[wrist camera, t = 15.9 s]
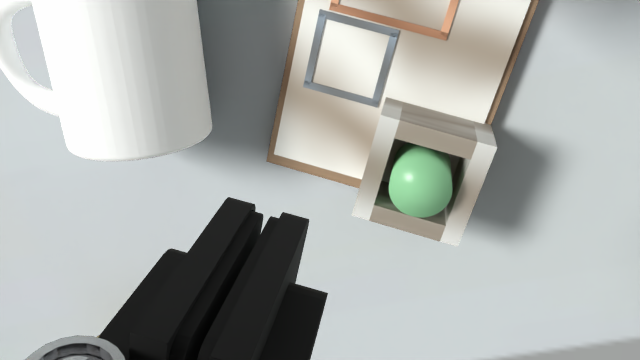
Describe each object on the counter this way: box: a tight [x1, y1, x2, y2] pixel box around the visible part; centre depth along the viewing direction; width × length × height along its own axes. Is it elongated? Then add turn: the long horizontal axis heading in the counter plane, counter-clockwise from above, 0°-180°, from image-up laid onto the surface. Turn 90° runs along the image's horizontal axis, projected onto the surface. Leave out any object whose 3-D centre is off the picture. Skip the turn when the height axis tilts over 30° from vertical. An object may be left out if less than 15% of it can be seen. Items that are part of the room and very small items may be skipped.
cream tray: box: [267, 0, 539, 247], centre depth 28 cm, size 22×12×4 cm, turn 167°
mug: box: [0, 0, 212, 161], centre depth 30 cm, size 12×10×8 cm
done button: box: [389, 142, 452, 217], centre depth 30 cm, size 3×3×3 cm
